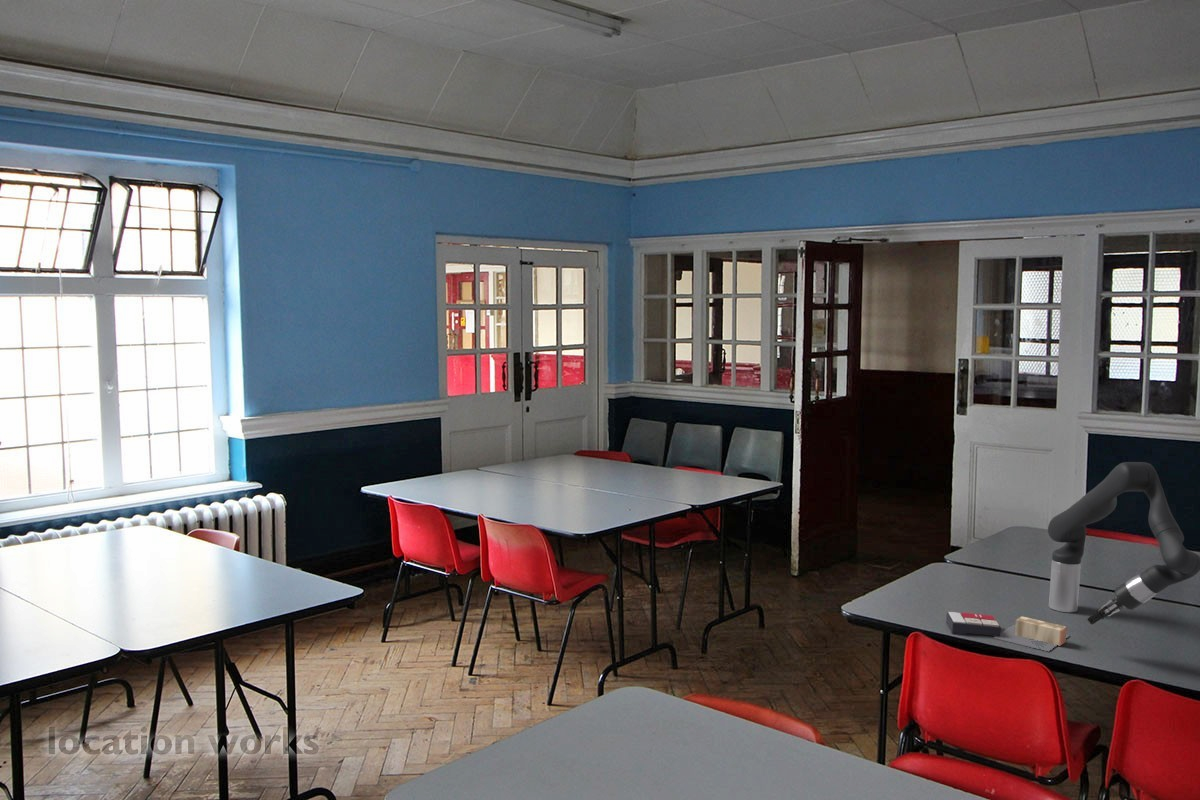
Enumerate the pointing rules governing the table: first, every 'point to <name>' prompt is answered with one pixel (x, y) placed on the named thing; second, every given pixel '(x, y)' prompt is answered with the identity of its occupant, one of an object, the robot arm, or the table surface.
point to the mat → (1022, 639)
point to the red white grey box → (972, 624)
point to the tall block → (1040, 631)
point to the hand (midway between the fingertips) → (1089, 621)
